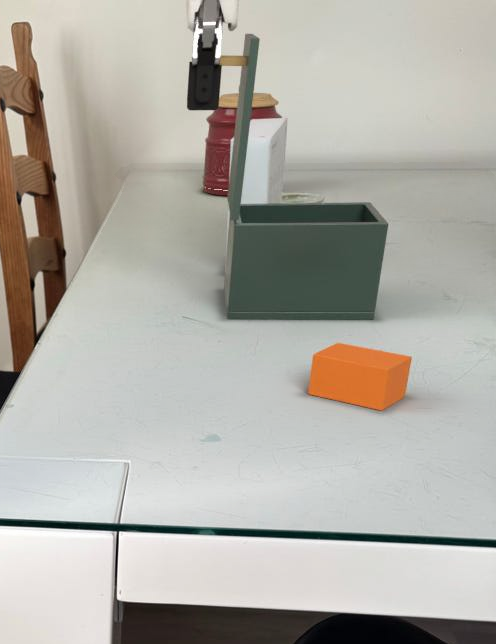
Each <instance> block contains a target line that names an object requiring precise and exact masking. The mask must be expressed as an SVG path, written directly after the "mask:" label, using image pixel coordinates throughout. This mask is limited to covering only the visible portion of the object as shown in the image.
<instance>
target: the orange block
mask: <svg viewBox="0 0 496 644" xmlns="http://www.w3.org/2000/svg"><path fill="white" fill-rule="evenodd" d="M412 358H413V356H411V355H404V354H399V353H394V352H390V351H385V350H379V349H373V348H368V347H363V346H357V345H353V344H347V343H342V342H336V343H334V344H331V345H330V346H328V347H326V348H324V349H321V350H320V351H318V352H315V353H313V354H312V359H311V360H312V361H311V369H310V376H309V382H308V383H309V384H308V391H307V394H308V395H310V396H315V397H319V398H323V399H328V400H332V401H337V402H342V403H345V404H350V405H354V406H359V407H363V408H367V409H372V410H375V411H376V410H377V411H381V412H382V411H384V410H385V409H387V408H389V407H391V406H392V405H394V404H395V403H398V402H399V401H401V400H403V399H404V398H405V397H406V394H407V393H406V392H407V386H408V381H409V376H410V370H411V364H412V361H413V360H412Z"/></svg>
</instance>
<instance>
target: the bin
mask: <svg viewBox="0 0 496 644" xmlns="http://www.w3.org/2000/svg"><path fill="white" fill-rule="evenodd" d="M388 229H389V223H388V221H387V220H386V218H384V217H383V215H382V214H381V213H380V212H379V211H378V210H377V208H376V207H375V206H374V205H373V203H371V202H369V201H364V202H363V201H360V202H357V201H355V202H354V201H353V202H351V201H350V202H321V203H268V204H241V205H240V214H239V220H231V216H230V217H229V231H228V244H227V257H226V256H225V265H226V270H225V269H224V285H223V286H224V287H223V293H224V302H225V311H226V319H227V320H370V321H371V320H374V319H375V314H376V308H377V307H376V306H377V301H378V300H377V299H378V293H379V289H380V288H379V286H380V281H381V274H382V268H383V262H384V255H385V249H386V244H387V243H386V241H387V235H388V231H389V230H388Z"/></svg>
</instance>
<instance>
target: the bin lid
mask: <svg viewBox="0 0 496 644" xmlns="http://www.w3.org/2000/svg"><path fill="white" fill-rule="evenodd" d="M243 42H244V43H243V50H242V55H221V54H220V65H222V67H241V69H240V79H239V85H240V87H239V86H238V93H239V96H238V105H237V115H236V124H235V133H234V142H233V152H232V161H231V170H230V179H229V189H228V196H227V206H228V205H229V210H230V216H231V220H239V214H240V205H241V197H242V188H243V179H244V171H245V162H246V153H247V145H248V136H249V127H250V119H251V110H252V101H253V93H255V82H256V74H257V65H258V56H259V49H260V48H259V47H260V37H259V36H257V35H255V34H254V33H245V34H244V40H243ZM214 62H215V60H214Z"/></svg>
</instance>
